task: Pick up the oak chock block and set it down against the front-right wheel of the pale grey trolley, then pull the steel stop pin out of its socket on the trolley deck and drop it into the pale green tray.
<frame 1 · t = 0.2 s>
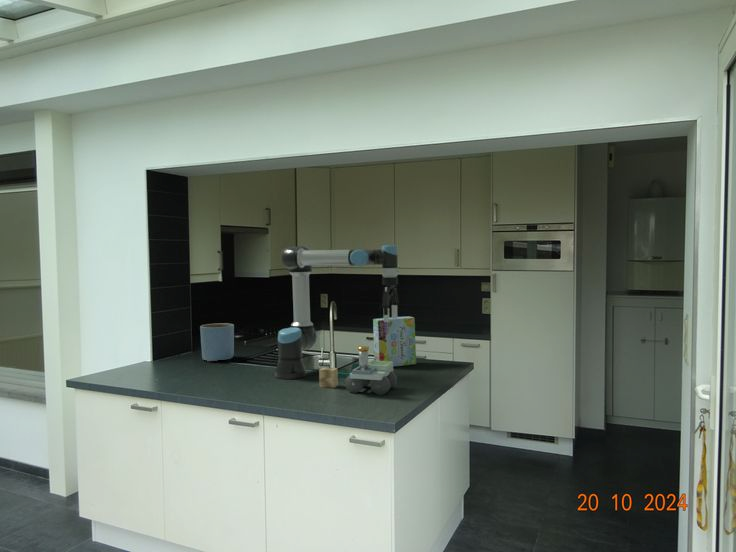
hand: (390, 320, 267), 28 cm above the countertop, fingers open, 13 cm apart
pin: (363, 372, 237), point 9 cm above the countertop, touching cart
planter: (218, 359, 319), on the countertop
snack box: (395, 365, 294), on the countertop
bracket: (350, 377, 268), on the countertop
chock: (328, 386, 251), on the countertop
cart: (372, 390, 241), on the countertop
tray: (378, 368, 244), resting on cart
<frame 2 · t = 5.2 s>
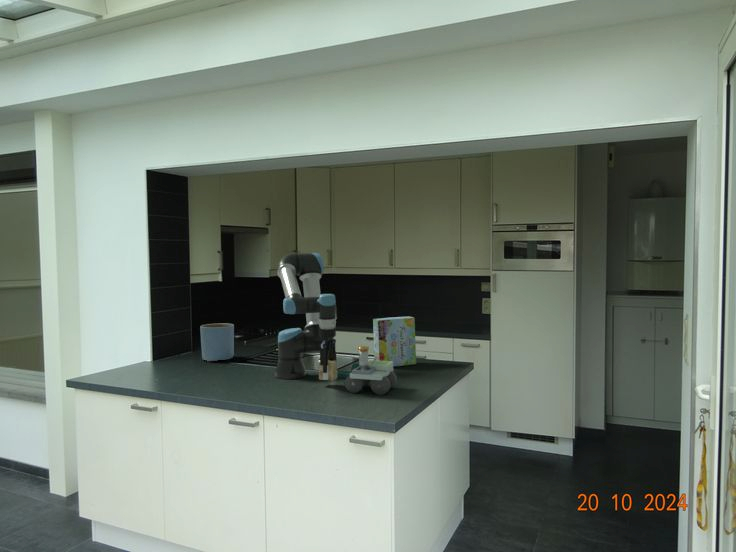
hand: (328, 377, 251), 4 cm above the countertop, fingers closed on chock, 5 cm apart
chock: (328, 378, 251), point 3 cm above the countertop, touching gripper
everything else where it was.
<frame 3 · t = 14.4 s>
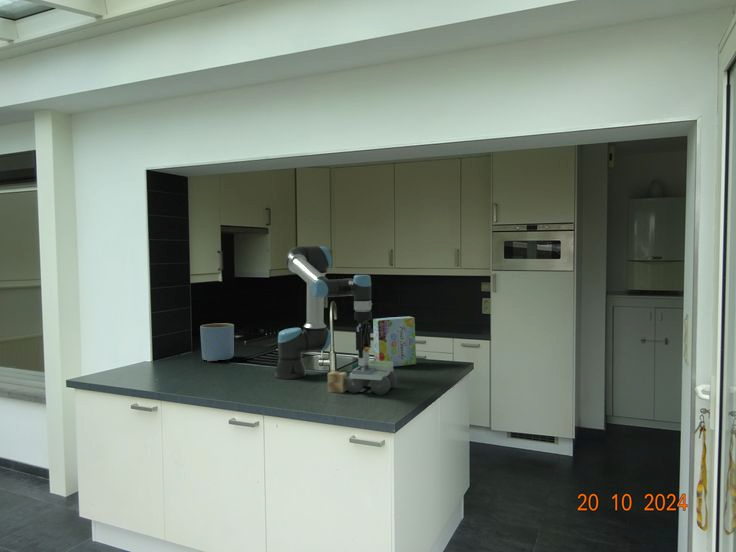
hand: (363, 363, 237), 13 cm above the countertop, fingers closed on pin, 4 cm apart
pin: (363, 372, 237), point 9 cm above the countertop, touching cart, gripper
chock: (337, 390, 242), on the countertop
everything else where it was.
when the fingers open (15 cm above the countertop, at t = 19.2 s): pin drops 2 cm, resting on tray.
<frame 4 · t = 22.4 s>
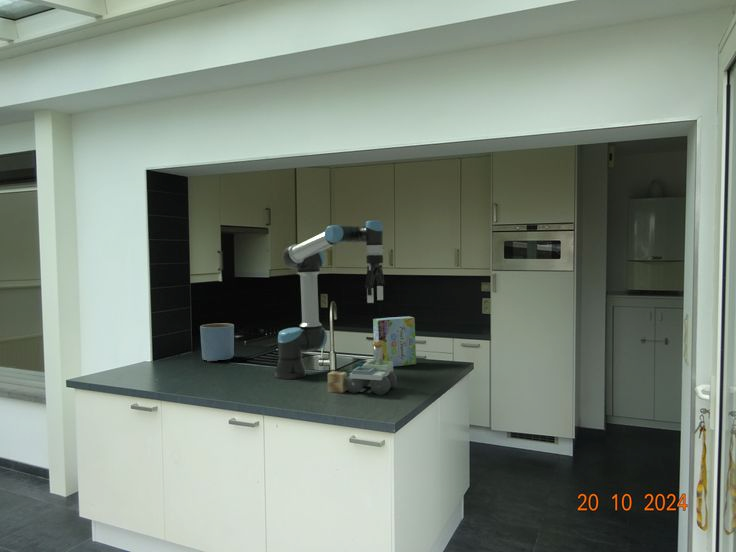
hand: (375, 301, 248), 39 cm above the countertop, fingers open, 13 cm apart
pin: (378, 367, 244), point 10 cm above the countertop, touching tray
everything else where it was.
at the end: chock inside the target area (0.0 cm from its centre), on the countertop; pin inside the target area on the tray (0.1 cm from its centre), point 0.5 cm above the tray's base; the gripper is holding nothing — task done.
